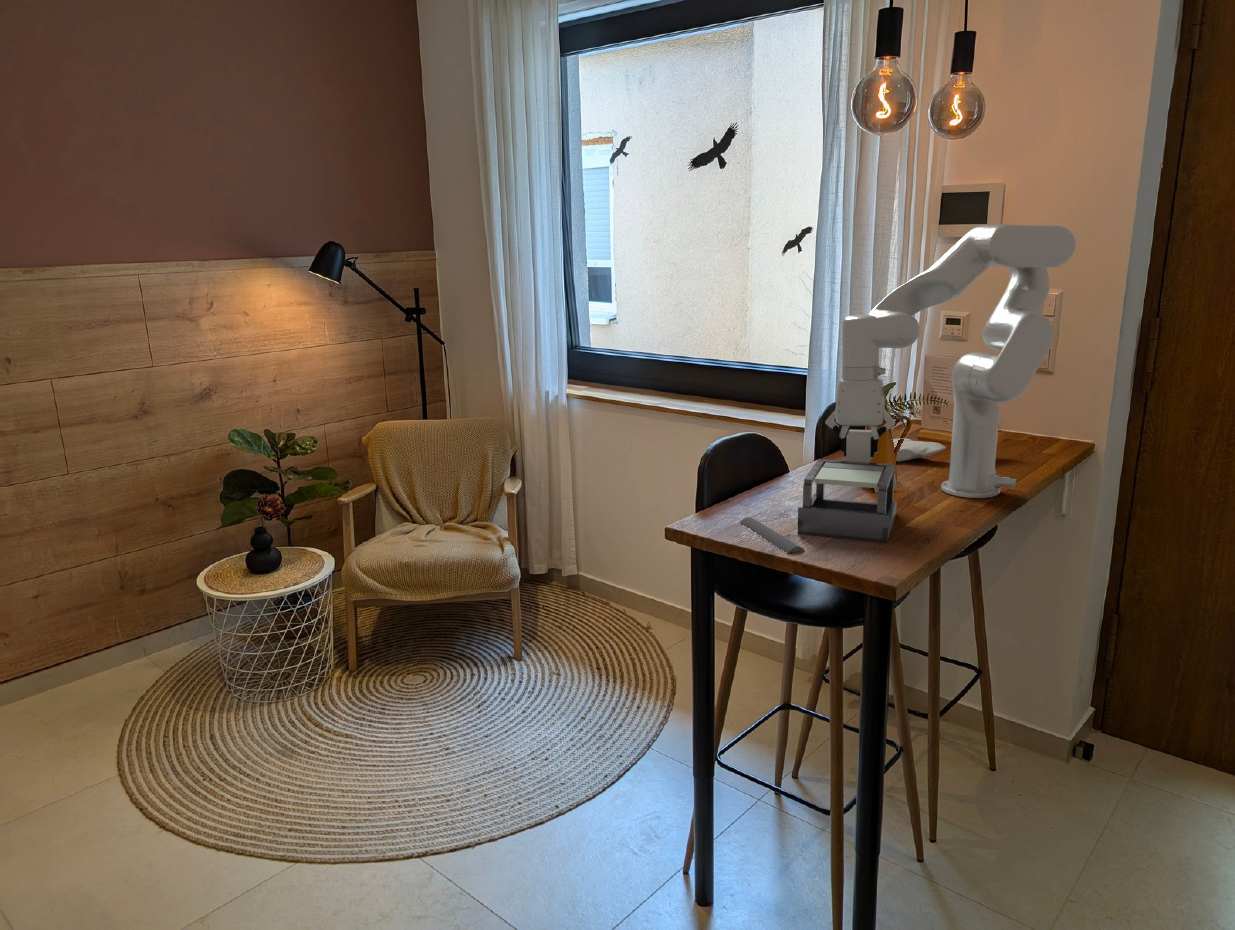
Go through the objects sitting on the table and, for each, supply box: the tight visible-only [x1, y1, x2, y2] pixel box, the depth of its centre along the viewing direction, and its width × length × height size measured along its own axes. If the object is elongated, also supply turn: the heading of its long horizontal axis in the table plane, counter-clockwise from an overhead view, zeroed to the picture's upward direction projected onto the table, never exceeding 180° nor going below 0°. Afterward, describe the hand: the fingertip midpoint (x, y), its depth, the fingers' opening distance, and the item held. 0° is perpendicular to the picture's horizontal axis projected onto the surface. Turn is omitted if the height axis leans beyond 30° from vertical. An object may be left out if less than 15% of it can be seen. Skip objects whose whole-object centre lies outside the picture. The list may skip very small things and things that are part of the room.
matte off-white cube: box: [845, 429, 873, 463], centre depth 195 cm, size 5×5×6 cm
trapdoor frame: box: [797, 458, 898, 543], centre depth 182 cm, size 17×19×11 cm
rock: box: [893, 438, 947, 463], centre depth 232 cm, size 21×5×15 cm
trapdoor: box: [814, 462, 885, 489], centre depth 180 cm, size 12×13×2 cm
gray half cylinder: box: [739, 516, 805, 554], centre depth 176 cm, size 4×20×2 cm, turn 20°
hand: (859, 454), depth 195 cm, fingers closed on matte off-white cube, 5 cm apart
